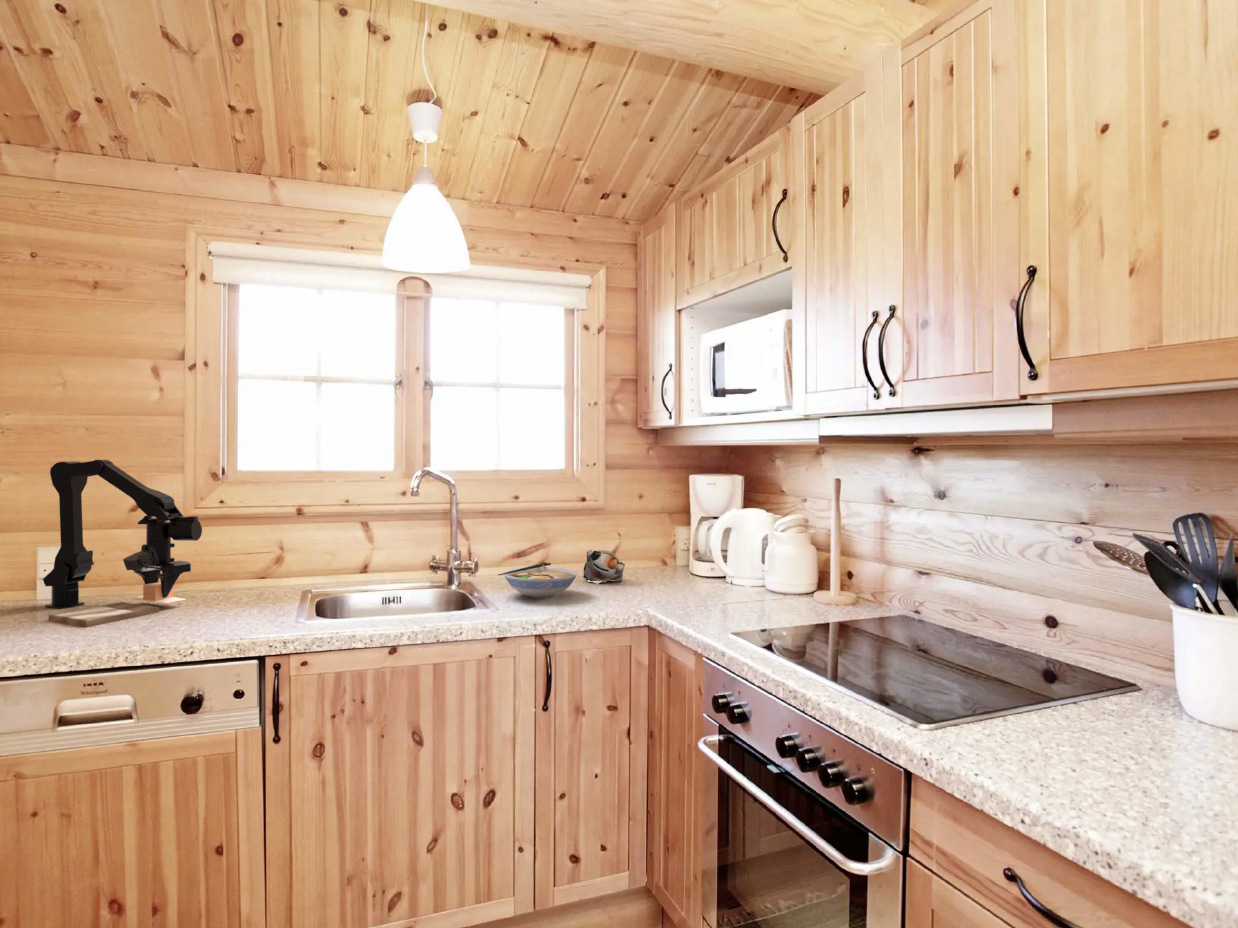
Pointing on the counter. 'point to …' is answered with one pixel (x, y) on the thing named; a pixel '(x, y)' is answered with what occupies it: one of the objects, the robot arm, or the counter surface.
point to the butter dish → (156, 594)
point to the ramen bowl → (540, 580)
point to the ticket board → (103, 614)
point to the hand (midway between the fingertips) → (158, 596)
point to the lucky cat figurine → (603, 566)
